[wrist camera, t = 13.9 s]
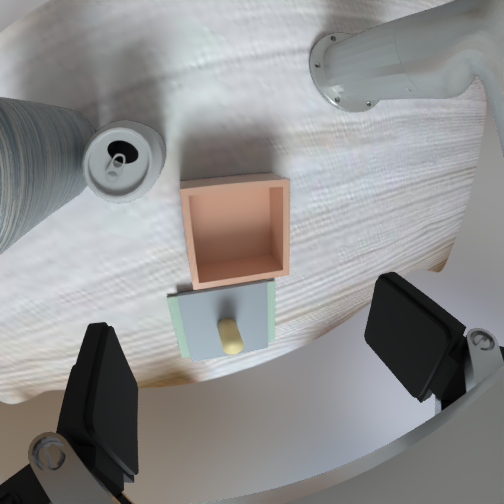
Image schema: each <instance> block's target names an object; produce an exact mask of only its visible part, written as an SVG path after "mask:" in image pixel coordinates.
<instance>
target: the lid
mask: <svg viewBox="0 0 504 504" xmlns="http://www.w3.org/2000/svg"><path fill="white" fill-rule="evenodd" d="M177 298H178V303H179V308H180V313H181V317H182V322H183V326H184V331H185V335H186V339H187V343H188V347H189V351H190V355H191V359H192V361H199V360H205V359H211V358H217V357H223V356H229V355H234V354H239V353H245V352H250V351H254V350H259V349H264V348H268V308H267V281H266V280H260V281H254V282H248V283H242V284H236V285H230V286H223V287H217V288H210V289H204V290H197V291H190V292H183V293H177Z"/></svg>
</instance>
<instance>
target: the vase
mask: <svg viewBox="0 0 504 504" xmlns="http://www.w3.org/2000/svg"><path fill="white" fill-rule="evenodd" d="M94 134H95V132H94V130H93V128H92V126H91V125H90V123H89V122H88V121H87V119H85V118H84V117H83V116H82V115H81V114H79V113H77V112H76V111H73V110H70V109H66V108H61V107H56V106H51V105H46V104H41V103H35V102H30V101H24V100H18V99H11V98H4V97H0V255H1V254H2V253H3V252H4V251H5V250H7V249H8V248H9V247H10V246H11V245H12V244H14V243H15V242H16V241H17V240H18V239H20V238H21V237H22V236H23V235H25V234H26V233H27V232H28V231H30V230H31V229H32V228H34V227H35V226H36V225H37V224H39V223H40V222H41V221H43V220H44V219H45V218H47V217H48V216H49V215H51V214H52V213H54V212H55V211H56V210H58V209H59V208H61V207H62V206H64V205H65V204H66V203H68V202H69V201H71V200H72V199H74V198H75V197H76V196H78V195H79V194H80V193H81V192H82V191H83V190H84V189H85V188H86V186H87V185H88V184H87V182H86V180H85V177H84V175H83V165H82V160H83V155H84V151H85V148H86V146H87V144H88V142H89V140H90V138H91V137H92V136H93V135H94Z"/></svg>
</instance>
